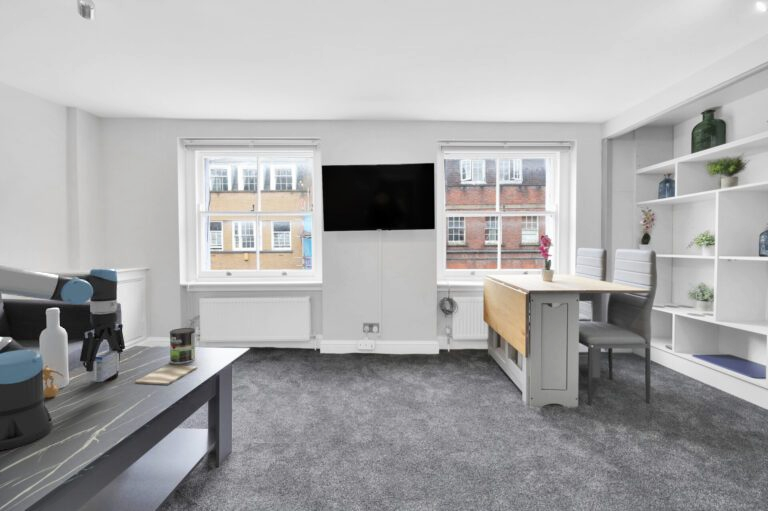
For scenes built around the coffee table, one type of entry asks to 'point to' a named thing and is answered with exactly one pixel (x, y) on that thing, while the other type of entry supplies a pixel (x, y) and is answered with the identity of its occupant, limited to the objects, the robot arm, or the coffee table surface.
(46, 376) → the figurine
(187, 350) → the coffee can
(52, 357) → the bottle
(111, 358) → the medicine box
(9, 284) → the robot arm
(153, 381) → the birch board
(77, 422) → the coffee table surface
